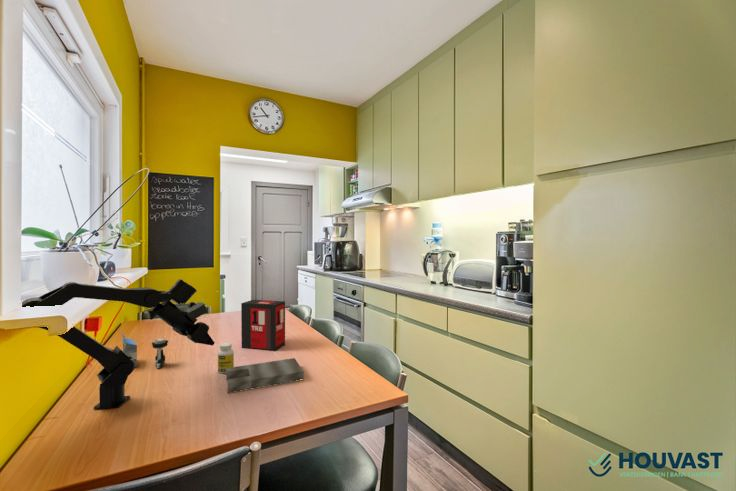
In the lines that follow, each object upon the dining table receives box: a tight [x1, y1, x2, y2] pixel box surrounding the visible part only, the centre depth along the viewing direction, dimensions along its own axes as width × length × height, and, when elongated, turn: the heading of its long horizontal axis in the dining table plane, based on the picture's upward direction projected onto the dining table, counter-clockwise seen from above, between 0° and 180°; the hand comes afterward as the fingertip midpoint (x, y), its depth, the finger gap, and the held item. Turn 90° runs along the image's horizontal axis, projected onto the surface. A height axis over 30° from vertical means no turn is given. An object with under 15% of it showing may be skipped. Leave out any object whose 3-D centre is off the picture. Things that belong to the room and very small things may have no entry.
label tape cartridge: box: [122, 331, 138, 368], centre depth 128 cm, size 9×4×12 cm, turn 41°
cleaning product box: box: [240, 299, 286, 352], centre depth 150 cm, size 16×9×20 cm, turn 76°
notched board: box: [225, 357, 305, 394], centre depth 116 cm, size 24×14×3 cm, turn 115°
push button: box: [151, 337, 169, 369], centre depth 127 cm, size 7×5×10 cm
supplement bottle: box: [217, 342, 235, 374], centre depth 122 cm, size 5×5×10 cm
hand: (208, 341), depth 118 cm, fingers open, 9 cm apart
